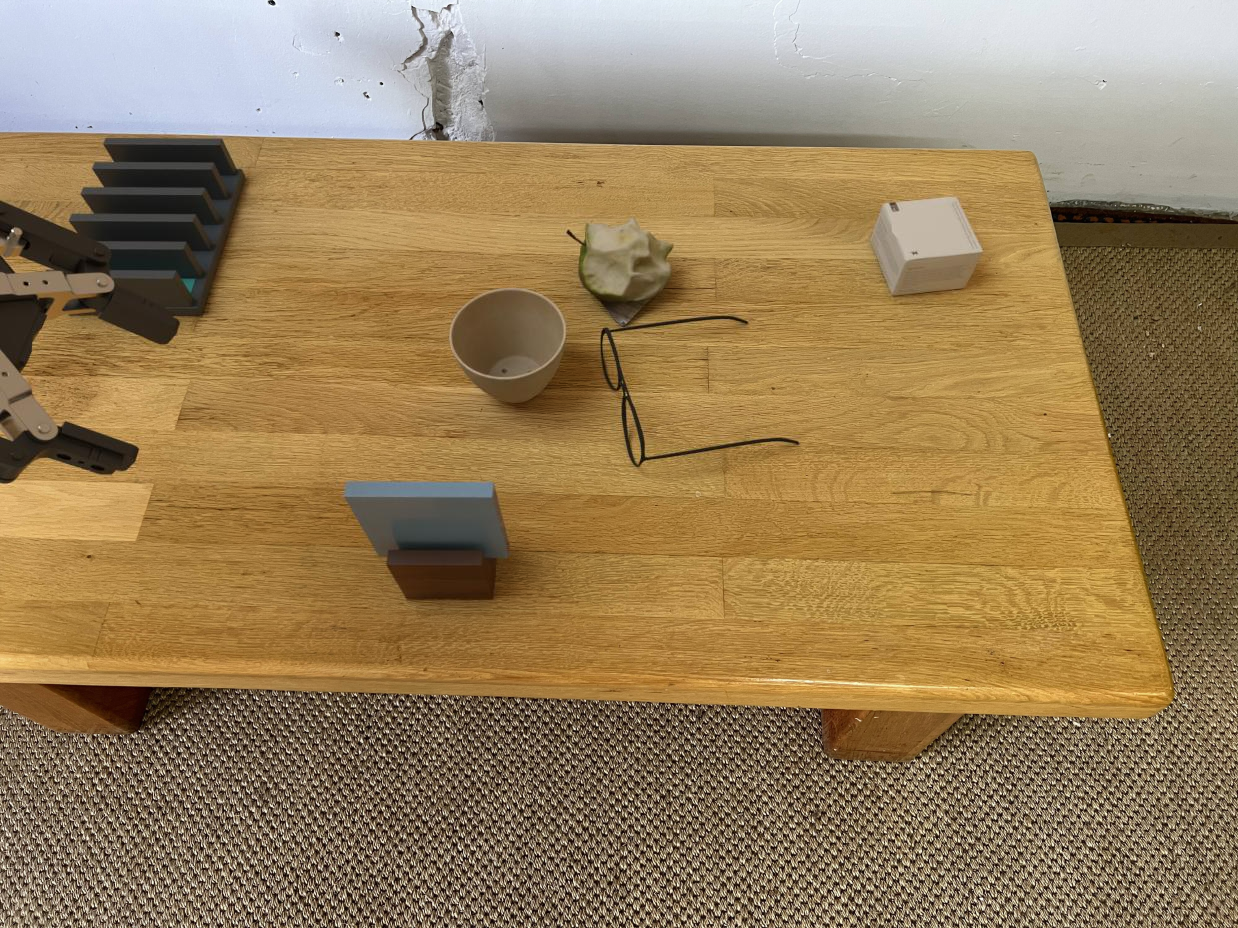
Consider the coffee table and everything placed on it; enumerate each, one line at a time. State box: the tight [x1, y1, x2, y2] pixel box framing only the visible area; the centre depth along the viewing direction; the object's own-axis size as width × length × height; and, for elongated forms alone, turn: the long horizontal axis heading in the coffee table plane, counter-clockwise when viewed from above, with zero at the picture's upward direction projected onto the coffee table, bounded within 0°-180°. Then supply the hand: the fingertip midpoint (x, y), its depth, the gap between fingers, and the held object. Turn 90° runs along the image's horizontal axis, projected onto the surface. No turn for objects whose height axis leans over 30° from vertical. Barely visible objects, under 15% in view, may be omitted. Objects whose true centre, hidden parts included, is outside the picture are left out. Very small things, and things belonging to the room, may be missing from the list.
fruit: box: [566, 217, 675, 327], centre depth 83 cm, size 9×9×8 cm
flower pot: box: [448, 287, 567, 404], centre depth 77 cm, size 10×10×7 cm
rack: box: [45, 137, 247, 317], centre depth 86 cm, size 19×13×5 cm
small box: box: [870, 196, 984, 297], centre depth 85 cm, size 8×8×5 cm
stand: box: [385, 550, 498, 601], centre depth 67 cm, size 5×7×7 cm
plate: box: [343, 480, 510, 559], centre depth 63 cm, size 1×10×10 cm, turn 90°
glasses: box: [599, 315, 800, 468], centre depth 78 cm, size 14×15×5 cm
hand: (154, 394), depth 49 cm, fingers open, 8 cm apart
